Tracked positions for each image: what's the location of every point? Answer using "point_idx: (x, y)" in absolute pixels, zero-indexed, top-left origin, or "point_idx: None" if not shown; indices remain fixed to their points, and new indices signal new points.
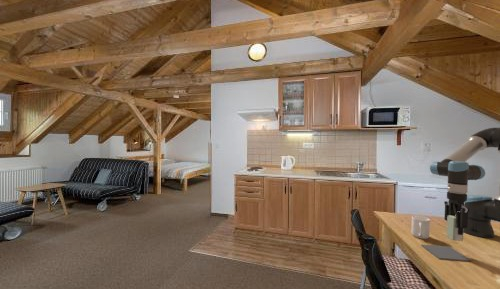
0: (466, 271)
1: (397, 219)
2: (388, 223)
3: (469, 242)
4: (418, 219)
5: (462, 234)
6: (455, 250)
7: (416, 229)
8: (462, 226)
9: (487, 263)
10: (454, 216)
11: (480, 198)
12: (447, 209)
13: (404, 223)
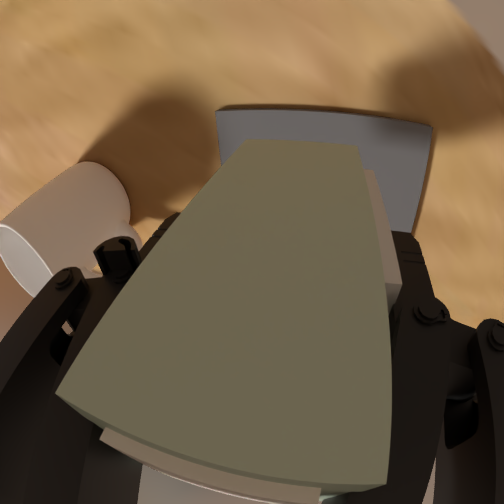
0: (498, 248)
1: None
2: None
3: None
4: (15, 240)
5: (415, 242)
6: (280, 114)
7: None
8: (473, 395)
9: (440, 34)
10: (214, 489)
11: None
12: (25, 472)
13: (4, 191)
